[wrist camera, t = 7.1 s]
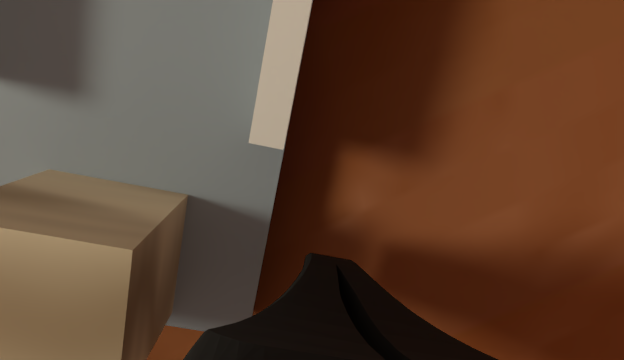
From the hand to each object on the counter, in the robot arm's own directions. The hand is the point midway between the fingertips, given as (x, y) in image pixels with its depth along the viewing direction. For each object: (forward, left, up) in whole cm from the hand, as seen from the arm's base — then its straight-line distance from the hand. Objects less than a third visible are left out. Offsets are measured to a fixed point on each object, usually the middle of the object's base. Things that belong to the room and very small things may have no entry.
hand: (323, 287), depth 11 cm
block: (0, +6, -1) cm, 6 cm away
